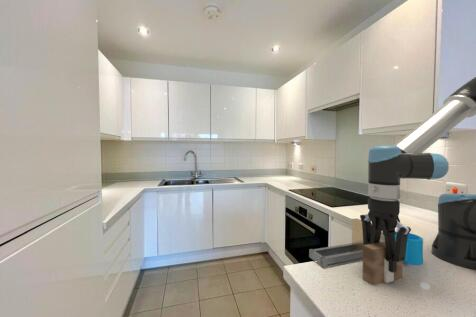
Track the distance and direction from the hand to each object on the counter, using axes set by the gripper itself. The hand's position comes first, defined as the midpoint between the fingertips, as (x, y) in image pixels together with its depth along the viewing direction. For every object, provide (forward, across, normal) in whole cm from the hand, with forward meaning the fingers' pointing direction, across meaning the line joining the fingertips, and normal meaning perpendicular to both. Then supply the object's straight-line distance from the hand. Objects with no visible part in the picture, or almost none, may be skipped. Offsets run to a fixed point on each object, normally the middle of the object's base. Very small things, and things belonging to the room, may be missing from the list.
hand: (382, 277), depth 58 cm
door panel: (0, 0, 0) cm, 0 cm away
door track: (0, -13, -2) cm, 13 cm away
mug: (0, -5, +18) cm, 19 cm away
